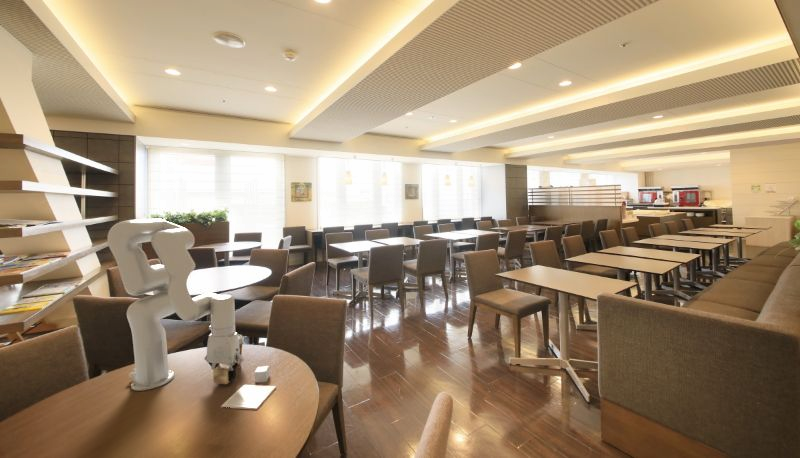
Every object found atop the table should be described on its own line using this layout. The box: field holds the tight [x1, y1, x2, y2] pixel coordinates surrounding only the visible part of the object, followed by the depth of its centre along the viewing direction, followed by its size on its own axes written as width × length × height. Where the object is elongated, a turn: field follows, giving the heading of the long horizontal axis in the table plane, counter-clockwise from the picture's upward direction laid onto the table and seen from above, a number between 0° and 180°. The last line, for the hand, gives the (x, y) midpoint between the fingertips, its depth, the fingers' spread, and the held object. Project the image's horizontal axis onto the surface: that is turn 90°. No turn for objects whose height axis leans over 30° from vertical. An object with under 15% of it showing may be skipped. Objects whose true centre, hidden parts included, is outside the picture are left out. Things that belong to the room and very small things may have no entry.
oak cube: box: [212, 363, 233, 385], centre depth 116 cm, size 5×5×5 cm
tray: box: [221, 384, 277, 410], centre depth 108 cm, size 12×12×1 cm
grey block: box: [254, 365, 270, 383], centre depth 119 cm, size 4×4×4 cm
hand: (224, 378), depth 116 cm, fingers closed on oak cube, 5 cm apart
